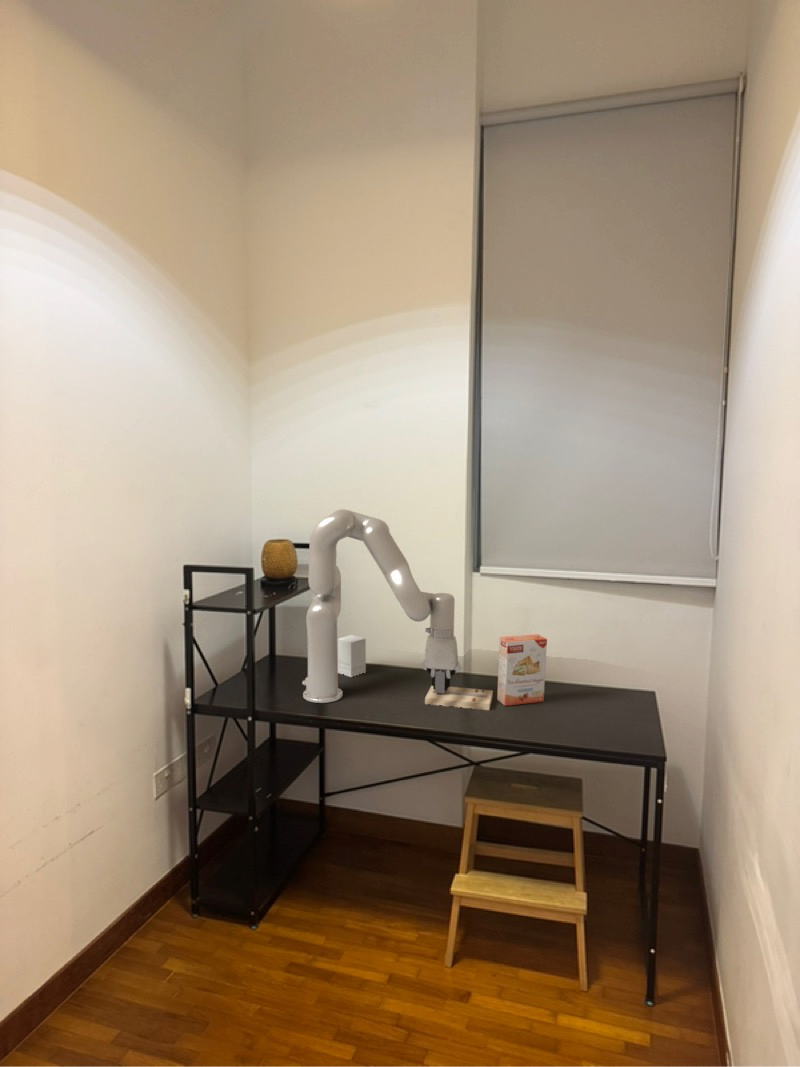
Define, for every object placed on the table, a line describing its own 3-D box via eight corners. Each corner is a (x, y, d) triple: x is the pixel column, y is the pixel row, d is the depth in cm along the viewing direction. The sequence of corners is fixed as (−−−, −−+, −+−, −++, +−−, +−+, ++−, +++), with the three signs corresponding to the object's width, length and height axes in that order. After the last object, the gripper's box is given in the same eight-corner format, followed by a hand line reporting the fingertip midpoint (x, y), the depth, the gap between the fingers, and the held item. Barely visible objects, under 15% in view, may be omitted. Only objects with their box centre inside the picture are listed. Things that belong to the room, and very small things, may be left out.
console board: (424, 704, 215) (425, 697, 215) (431, 690, 227) (431, 684, 227) (489, 710, 211) (489, 703, 211) (492, 696, 223) (492, 689, 222)
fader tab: (434, 692, 218) (435, 670, 217) (437, 687, 222) (437, 666, 221) (444, 693, 217) (444, 671, 216) (446, 688, 222) (447, 667, 221)
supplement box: (366, 673, 244) (366, 638, 242) (350, 678, 239) (350, 642, 237) (352, 668, 249) (352, 634, 247) (336, 672, 244) (336, 638, 242)
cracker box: (505, 707, 214) (507, 641, 211) (496, 700, 219) (498, 636, 217) (545, 702, 218) (547, 638, 215) (535, 695, 224) (537, 633, 221)
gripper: (414, 634, 216) (413, 690, 218) (466, 637, 212) (464, 695, 214) (418, 627, 223) (418, 682, 225) (469, 631, 219) (467, 687, 222)
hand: (440, 688), depth 220 cm, fingers closed on fader tab, 3 cm apart
